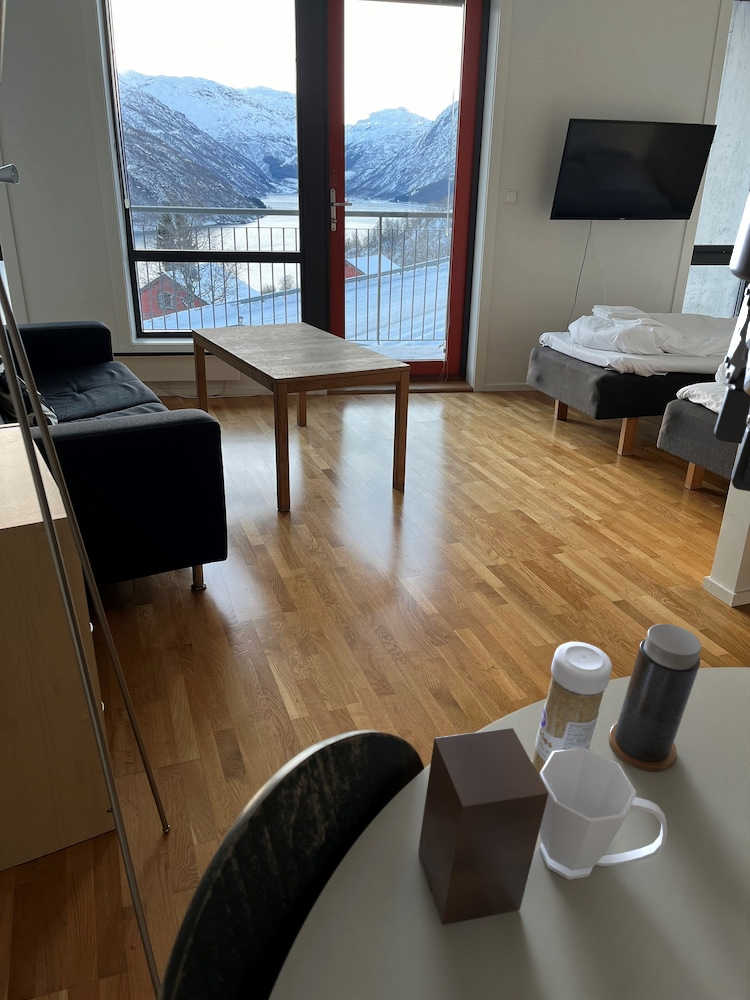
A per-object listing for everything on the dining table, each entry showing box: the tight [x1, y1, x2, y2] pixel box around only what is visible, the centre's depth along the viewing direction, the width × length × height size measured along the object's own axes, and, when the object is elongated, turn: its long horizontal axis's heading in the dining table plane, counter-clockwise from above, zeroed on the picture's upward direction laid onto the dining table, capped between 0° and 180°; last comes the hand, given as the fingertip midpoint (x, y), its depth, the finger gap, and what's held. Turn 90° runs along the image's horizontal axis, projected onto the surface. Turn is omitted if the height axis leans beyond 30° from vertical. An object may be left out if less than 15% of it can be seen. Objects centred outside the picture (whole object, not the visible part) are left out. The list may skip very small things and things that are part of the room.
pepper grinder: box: [615, 623, 702, 763], centre depth 66 cm, size 5×5×12 cm
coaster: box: [608, 721, 678, 772], centre depth 69 cm, size 6×6×1 cm
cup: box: [538, 748, 668, 881], centre depth 56 cm, size 7×10×8 cm
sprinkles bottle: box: [530, 641, 613, 775], centre depth 62 cm, size 5×5×13 cm
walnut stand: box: [417, 727, 549, 926], centre depth 53 cm, size 6×6×12 cm
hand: (738, 462), depth 48 cm, fingers open, 8 cm apart
